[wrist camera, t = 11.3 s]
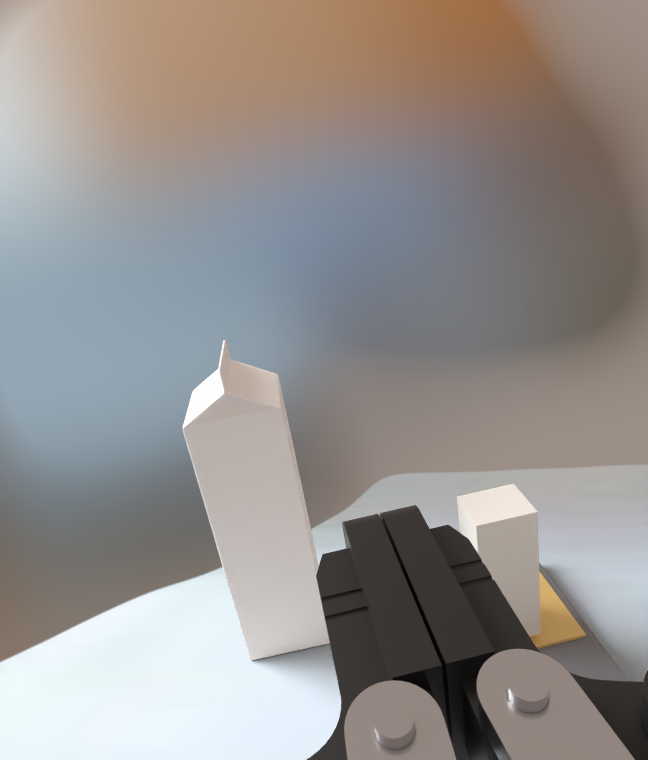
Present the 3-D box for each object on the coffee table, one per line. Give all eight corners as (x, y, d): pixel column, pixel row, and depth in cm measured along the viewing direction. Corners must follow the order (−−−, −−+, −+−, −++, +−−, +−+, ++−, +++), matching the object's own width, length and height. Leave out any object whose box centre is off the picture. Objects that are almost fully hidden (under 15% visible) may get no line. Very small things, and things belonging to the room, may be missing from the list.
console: (606, 1130, 19) (607, 1102, 18) (403, 594, 43) (399, 571, 42) (872, 1048, 20) (885, 1017, 19) (526, 564, 44) (525, 542, 43)
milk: (323, 586, 46) (271, 329, 37) (332, 645, 40) (273, 357, 32) (249, 601, 45) (180, 346, 37) (248, 663, 40) (167, 378, 32)
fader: (485, 647, 35) (476, 526, 31) (467, 611, 37) (456, 496, 34) (540, 633, 35) (537, 511, 31) (518, 599, 38) (513, 483, 34)
